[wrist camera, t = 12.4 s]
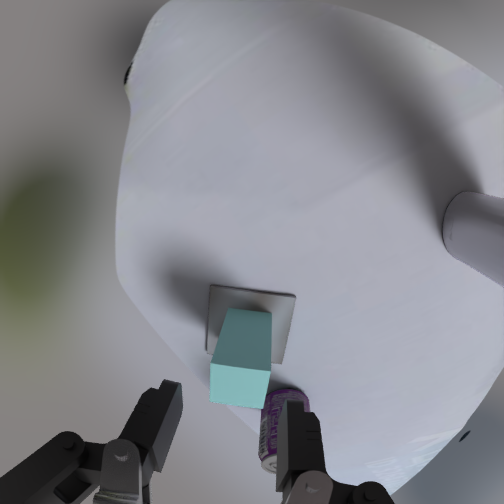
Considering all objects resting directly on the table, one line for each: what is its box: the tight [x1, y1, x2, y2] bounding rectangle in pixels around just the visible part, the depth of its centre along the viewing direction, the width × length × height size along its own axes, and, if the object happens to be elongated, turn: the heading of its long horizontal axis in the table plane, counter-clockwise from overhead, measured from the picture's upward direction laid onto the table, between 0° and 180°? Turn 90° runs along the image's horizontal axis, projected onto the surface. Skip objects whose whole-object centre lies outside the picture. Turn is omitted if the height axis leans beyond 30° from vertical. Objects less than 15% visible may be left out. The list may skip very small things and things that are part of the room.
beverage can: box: [258, 389, 310, 474], centre depth 31 cm, size 7×7×12 cm
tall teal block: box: [210, 308, 272, 409], centre depth 28 cm, size 5×5×11 cm
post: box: [207, 285, 296, 364], centre depth 29 cm, size 10×10×10 cm
